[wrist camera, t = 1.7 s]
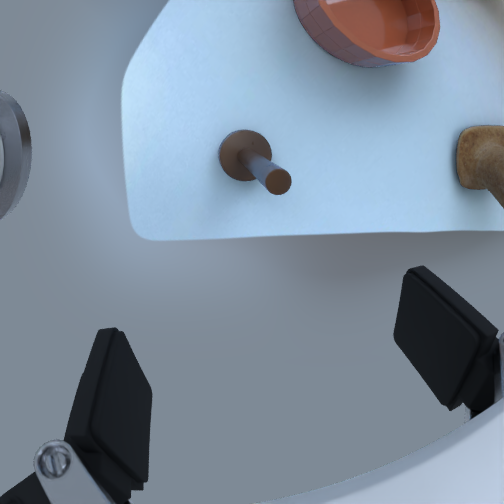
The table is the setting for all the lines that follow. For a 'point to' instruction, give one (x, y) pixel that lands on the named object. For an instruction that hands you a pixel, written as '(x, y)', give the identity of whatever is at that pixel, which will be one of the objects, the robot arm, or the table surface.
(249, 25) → the table surface
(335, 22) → the bowl
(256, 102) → the table surface
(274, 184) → the brown disc-based tamper
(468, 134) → the stone cup
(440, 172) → the table surface
